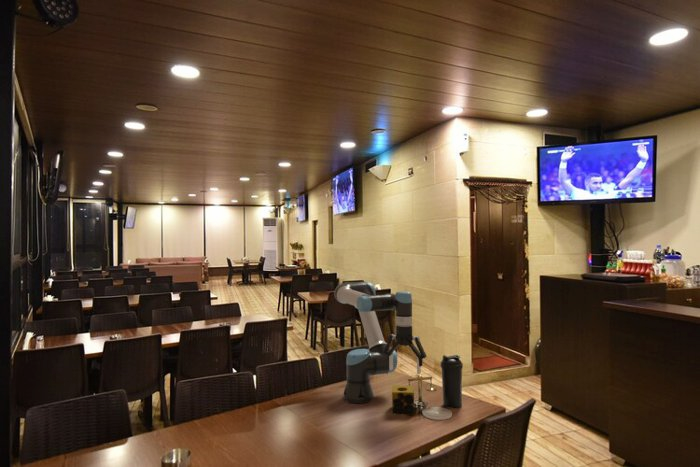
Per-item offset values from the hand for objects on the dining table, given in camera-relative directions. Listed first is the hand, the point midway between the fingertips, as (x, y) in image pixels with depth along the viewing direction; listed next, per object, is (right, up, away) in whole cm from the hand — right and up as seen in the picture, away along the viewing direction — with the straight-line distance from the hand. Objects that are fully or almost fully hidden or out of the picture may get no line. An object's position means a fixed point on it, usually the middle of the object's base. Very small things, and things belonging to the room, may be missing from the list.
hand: (404, 371), depth 192 cm
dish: (+14, -17, -6) cm, 23 cm away
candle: (-1, -18, -1) cm, 18 cm away
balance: (+8, -18, +6) cm, 20 cm away
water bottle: (+23, -18, +5) cm, 29 cm away
